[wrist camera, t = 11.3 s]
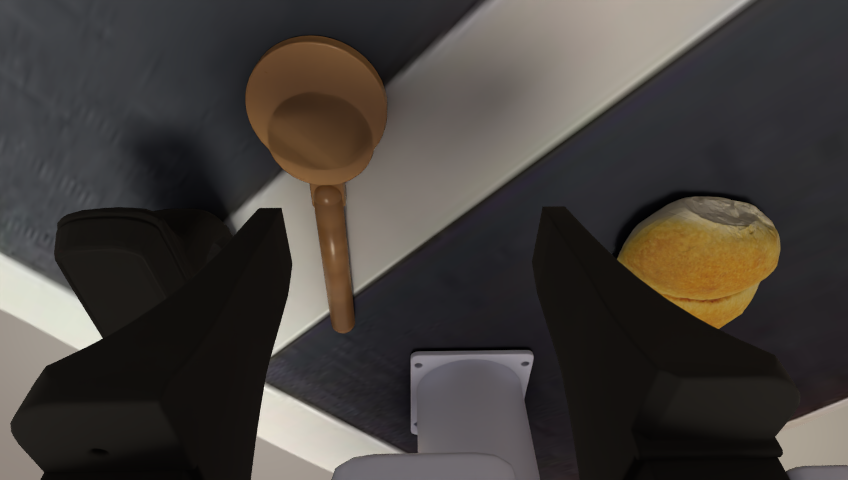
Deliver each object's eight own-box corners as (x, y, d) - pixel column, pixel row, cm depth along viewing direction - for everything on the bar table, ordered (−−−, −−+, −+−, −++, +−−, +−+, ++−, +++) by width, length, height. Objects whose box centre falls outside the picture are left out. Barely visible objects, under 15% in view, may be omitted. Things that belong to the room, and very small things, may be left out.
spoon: (394, 319, 33) (393, 337, 32) (295, 320, 32) (291, 338, 31) (385, 35, 22) (384, 47, 20) (235, 34, 21) (227, 47, 20)
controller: (201, 313, 32) (137, 478, 24) (116, 127, 24) (-20, 284, 16) (273, 310, 32) (231, 474, 24) (212, 122, 24) (121, 277, 16)
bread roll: (583, 307, 32) (602, 360, 29) (641, 184, 27) (672, 235, 24) (710, 316, 33) (741, 369, 30) (792, 199, 28) (841, 250, 24)
